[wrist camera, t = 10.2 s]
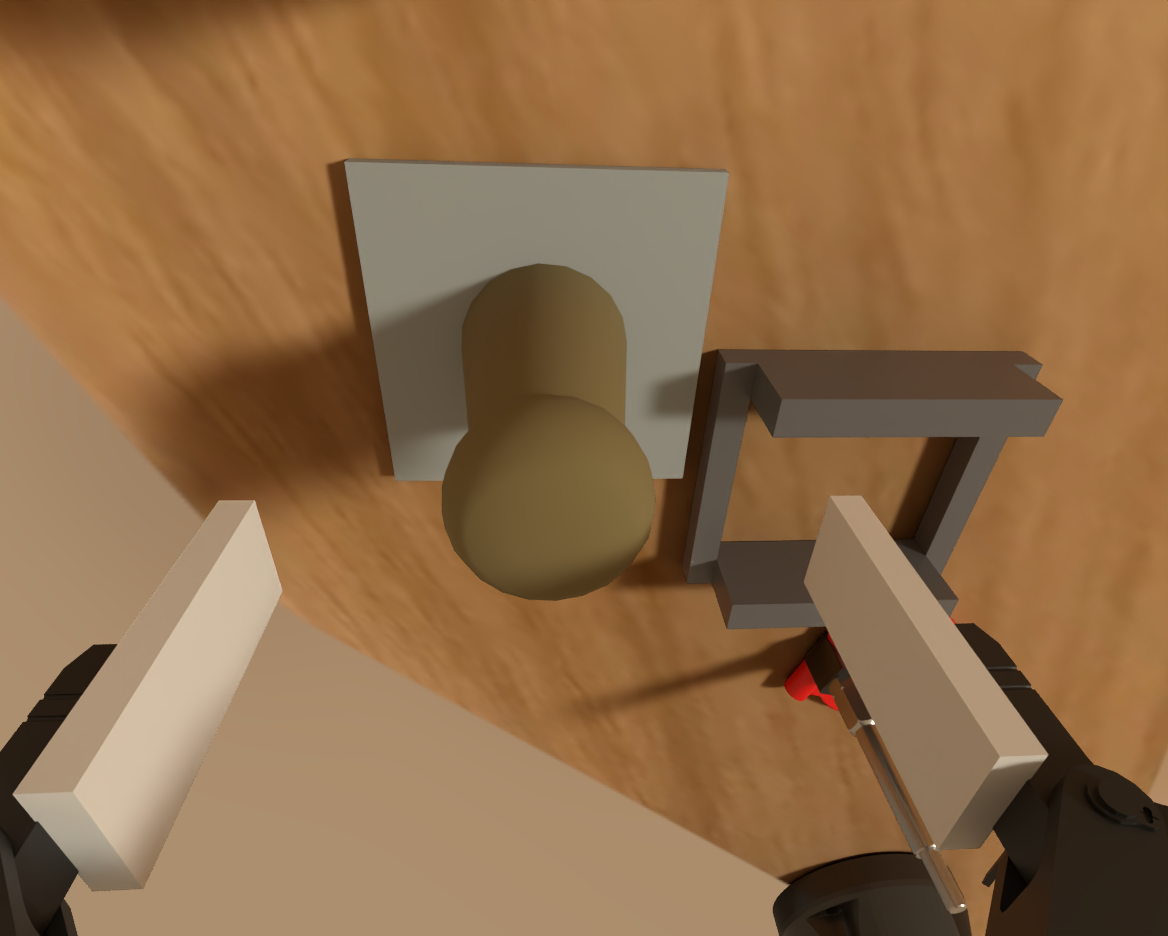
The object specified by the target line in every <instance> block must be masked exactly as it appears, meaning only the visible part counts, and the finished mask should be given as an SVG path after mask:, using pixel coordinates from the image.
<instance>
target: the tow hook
mask: <svg viewBox="0 0 1168 936" xmlns="http://www.w3.org/2000/svg"><path fill="white" fill-rule="evenodd" d="M950 619H951V618H950ZM951 620H952V622H953V623H954V624H956V623H955V622H954V620H953V619H951ZM784 685H785V689H786V691H787V692H788V693H789V695H790V696H791V697H793V698H794V699H796V700H799V701H804V700H805V699H806V698H807V697H808V696H809V695H816V696H820V697H821V699H822V701H823V702H824V703H825V704H826V705H828V706H829V707H830V708H832V709H834V710H837V711H839V712H840V714H841V716H842V718H843V720H844V722H845V724H846V726H847V728H848V730H849V732H850V733H851V734H852V735H853V736H854V737H857V740H858V742H859V744H860V746H861V748H862V750H863V752H864V754H865V756H866V758H867V760H868V762H869V764H870V766H871V768H872V770H873V772H874V774H875V776H876V778H877V780H878V783H879V785H880V787H881V789H882V791H883V793H884V795H885V797H886V799H887V801H888V803H889V805H890V807H891V809H892V811H893V813H894V815H895V817H896V819H897V821H898V823H899V825H900V828H901V830H902V832H903V834H904V836H905V838H906V840H907V842H908V844H909V846H910V848H911V850H912V852H913V854H914V856H915V857H916V858H919V859H922V861H923V863H924V865H925V867H926V869H927V871H928V873H929V875H930V877H931V879H932V881H933V883H934V885H935V887H936V889H937V891H938V893H939V895H940V897H941V899H942V901H943V903H944V905H945V907H946V909H947V911H948V912H949V913H951V914H956V913H960V912H963V911H964V910H966V909H967V905H966V903H965V901H964V899H963V897H962V895H961V893H960V891H959V889H958V887H957V885H956V883H955V882H954V880H953V878H952V876H951V874H950V872H949V870H948V868H947V866H946V864H945V862H944V860H943V858H942V857H941V855H940V852H941V851H942V850H937V849H936V847H935V845H934V843H933V841H932V839H931V837H930V834H929V832H928V830H927V828H926V826H925V824H924V822H923V820H922V818H921V816H920V814H919V812H918V810H917V808H916V806H915V804H914V802H913V800H912V798H911V796H910V794H909V792H908V790H907V788H906V786H905V784H904V782H903V780H902V778H901V776H900V774H899V772H898V770H897V768H896V766H895V764H894V762H893V760H892V758H891V756H890V754H889V752H888V750H887V748H886V746H885V744H884V742H883V740H882V738H881V736H880V734H879V732H878V730H877V728H876V726H875V724H874V722H873V720H872V718H871V716H870V714H869V712H868V710H867V708H866V706H865V704H864V702H863V700H862V698H861V696H860V694H859V692H858V690H857V688H856V686H855V684H854V682H853V680H852V678H851V676H850V674H849V672H848V670H847V668H846V666H845V664H844V662H843V660H842V658H841V656H840V654H839V652H838V650H837V648H836V646H835V644H834V642H833V640H832V638H831V636H830V634H829V632H828V631H827V632H826V633H825V634H824V635H823V636H822V637H821V638H820V639H819V640H818V642H817V643H816V644H815V645H814V646H813V647H812V648H811V650H810V651H809V652H808V653H807V654H806V656H805V660H804V661H803V662H802V663H801V664H800V665H799V666H798V668H797V669H796V670H795V671H794V672H793V673H792V674H791V676H790V677H789V678H788V679H787V680H786V681H785V683H784Z"/></svg>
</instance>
